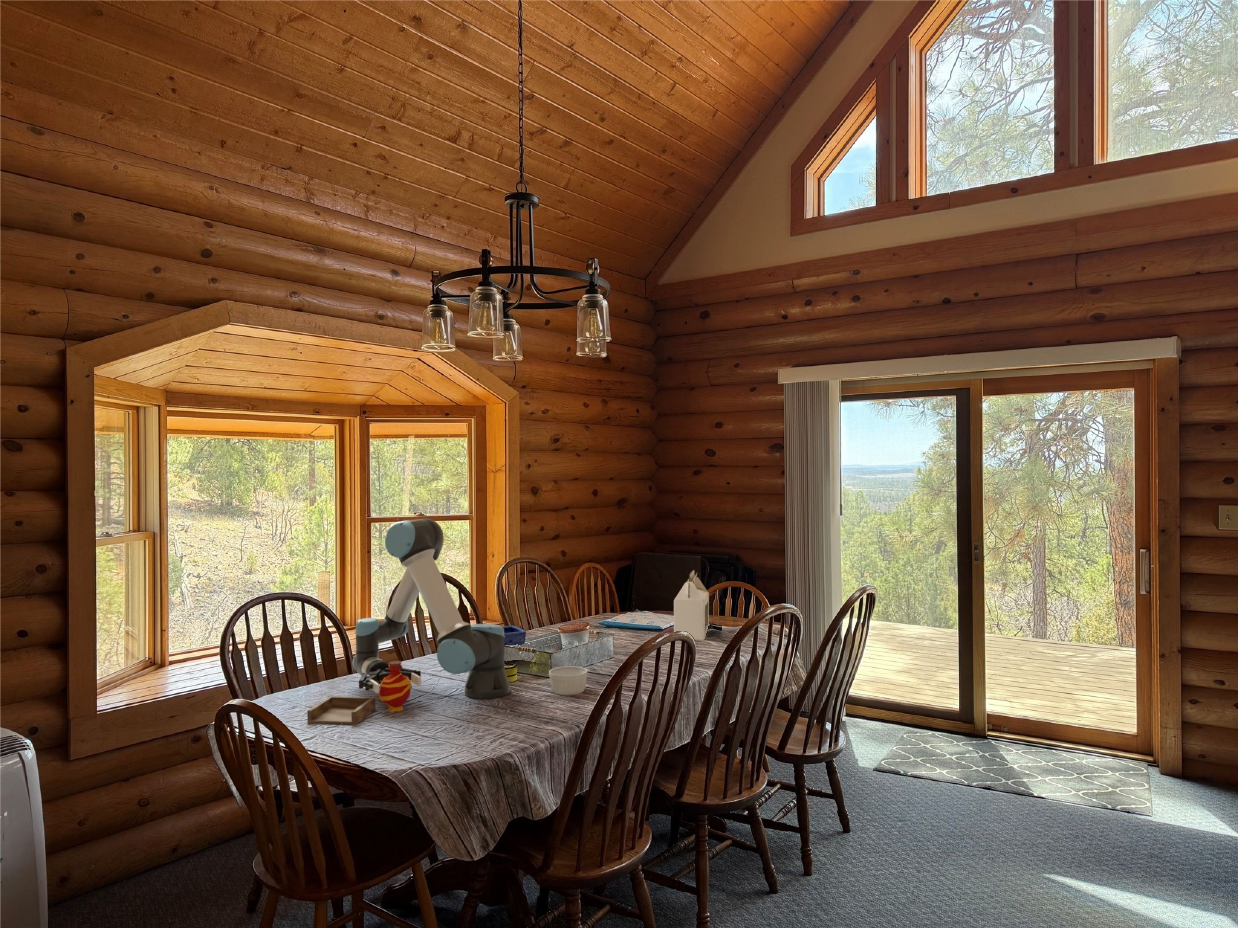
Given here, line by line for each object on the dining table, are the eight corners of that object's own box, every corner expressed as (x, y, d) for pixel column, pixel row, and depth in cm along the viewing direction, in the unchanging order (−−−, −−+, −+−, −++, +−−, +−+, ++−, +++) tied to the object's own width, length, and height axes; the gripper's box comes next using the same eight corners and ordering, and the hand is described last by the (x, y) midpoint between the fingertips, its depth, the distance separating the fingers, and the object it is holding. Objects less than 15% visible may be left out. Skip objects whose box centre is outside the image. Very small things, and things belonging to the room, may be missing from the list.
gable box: (704, 640, 358) (703, 576, 357) (673, 639, 360) (673, 575, 360) (708, 629, 380) (708, 569, 379) (680, 628, 382) (680, 568, 382)
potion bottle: (403, 715, 255) (403, 667, 255) (372, 713, 257) (372, 665, 257) (418, 705, 265) (418, 659, 265) (388, 703, 267) (388, 657, 267)
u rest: (330, 707, 263) (330, 695, 263) (375, 709, 261) (375, 697, 261) (307, 722, 248) (307, 710, 248) (355, 724, 246) (355, 711, 246)
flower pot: (495, 665, 316) (495, 634, 315) (482, 658, 327) (482, 628, 327) (527, 661, 322) (527, 630, 322) (513, 654, 334) (513, 624, 334)
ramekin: (543, 695, 277) (543, 674, 277) (555, 684, 290) (555, 664, 289) (581, 697, 274) (581, 676, 274) (592, 686, 286) (592, 666, 286)
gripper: (412, 676, 283) (436, 690, 266) (338, 687, 269) (359, 703, 251) (412, 654, 283) (436, 667, 265) (338, 664, 269) (359, 679, 251)
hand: (399, 685), depth 258 cm, fingers open, 13 cm apart
